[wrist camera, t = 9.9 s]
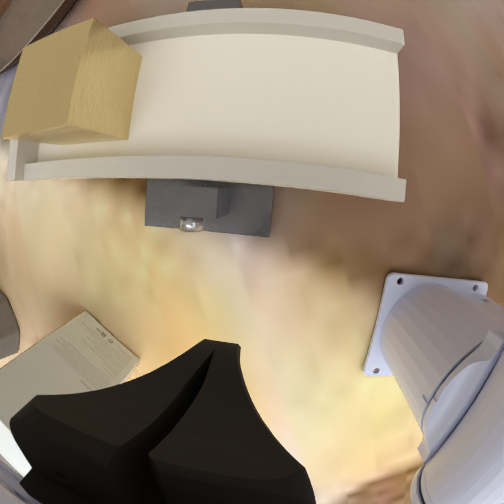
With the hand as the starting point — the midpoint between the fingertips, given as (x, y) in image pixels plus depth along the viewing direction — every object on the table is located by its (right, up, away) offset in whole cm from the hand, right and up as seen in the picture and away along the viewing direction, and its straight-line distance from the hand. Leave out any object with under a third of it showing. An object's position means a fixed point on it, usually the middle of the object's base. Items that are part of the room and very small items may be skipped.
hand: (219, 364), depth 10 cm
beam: (-1, +12, +4) cm, 13 cm away
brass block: (-8, +13, +3) cm, 15 cm away
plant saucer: (-23, +32, +6) cm, 40 cm away
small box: (-13, -6, +12) cm, 18 cm away
